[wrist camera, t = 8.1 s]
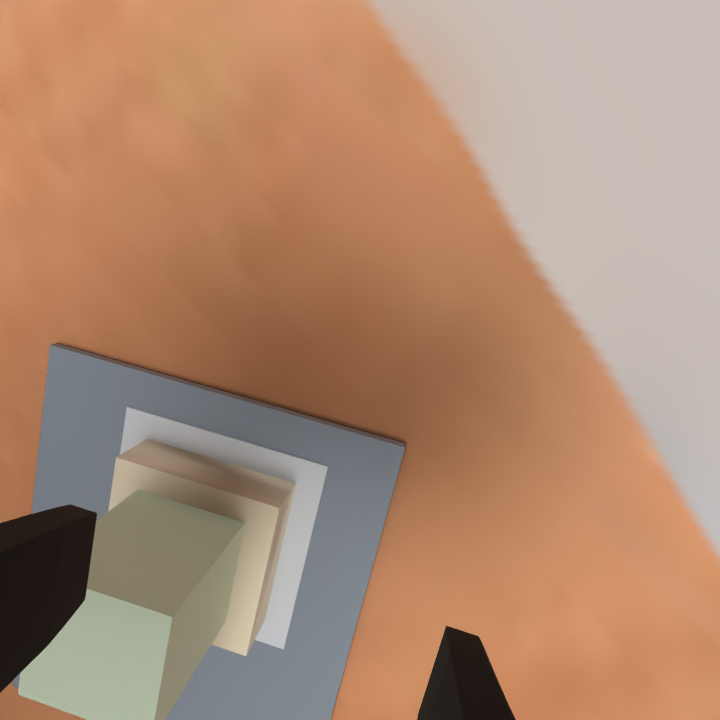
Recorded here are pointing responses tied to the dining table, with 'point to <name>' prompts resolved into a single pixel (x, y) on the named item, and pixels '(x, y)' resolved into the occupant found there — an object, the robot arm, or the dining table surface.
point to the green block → (140, 612)
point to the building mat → (254, 452)
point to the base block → (226, 498)
